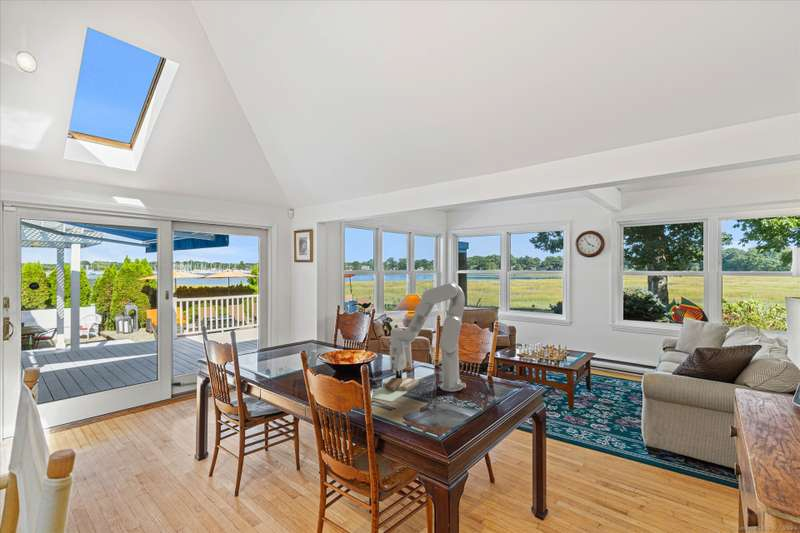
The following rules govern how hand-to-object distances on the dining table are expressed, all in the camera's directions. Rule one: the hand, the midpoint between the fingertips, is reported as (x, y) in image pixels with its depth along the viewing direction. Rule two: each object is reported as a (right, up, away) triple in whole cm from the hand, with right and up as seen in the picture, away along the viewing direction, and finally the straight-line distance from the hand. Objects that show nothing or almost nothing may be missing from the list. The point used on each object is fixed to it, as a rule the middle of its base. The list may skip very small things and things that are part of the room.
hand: (399, 381), depth 219 cm
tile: (-3, -1, -5) cm, 6 cm away
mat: (-7, -4, -11) cm, 14 cm away
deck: (+1, -3, +2) cm, 4 cm away
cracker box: (+1, -3, +34) cm, 34 cm away
